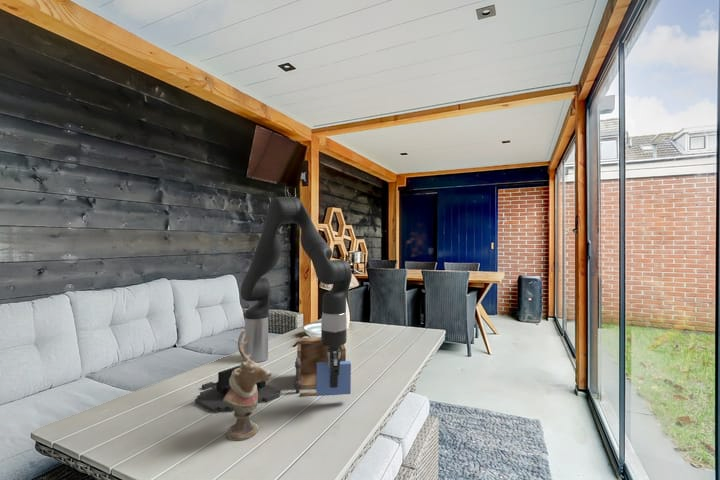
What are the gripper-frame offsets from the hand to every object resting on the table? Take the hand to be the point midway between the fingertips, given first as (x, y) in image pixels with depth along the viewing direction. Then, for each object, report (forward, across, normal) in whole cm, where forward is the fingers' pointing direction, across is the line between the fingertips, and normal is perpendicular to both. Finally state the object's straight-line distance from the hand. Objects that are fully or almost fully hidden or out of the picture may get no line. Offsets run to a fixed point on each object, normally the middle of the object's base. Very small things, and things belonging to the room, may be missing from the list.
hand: (333, 384), depth 105 cm
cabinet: (+6, -15, -3) cm, 17 cm away
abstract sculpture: (+7, -11, -31) cm, 33 cm away
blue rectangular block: (+2, 0, 0) cm, 2 cm away
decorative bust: (+6, +13, -23) cm, 27 cm away
